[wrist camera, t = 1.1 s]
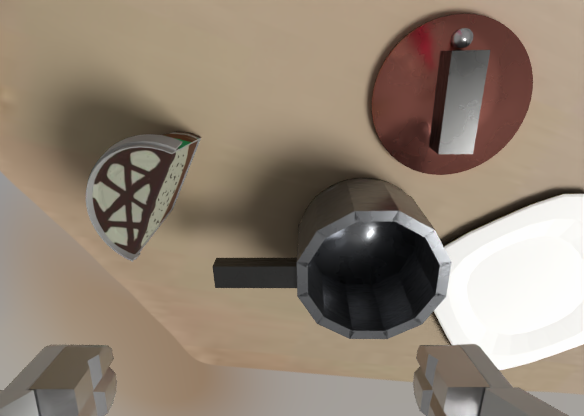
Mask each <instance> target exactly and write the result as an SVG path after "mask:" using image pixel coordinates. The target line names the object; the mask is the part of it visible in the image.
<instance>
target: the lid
mask: <svg viewBox="0 0 584 416" xmlns="http://www.w3.org/2000/svg"><path fill="white" fill-rule="evenodd" d="M532 89H533V75H532V67H531V63H530V60H529V56H528V54H527V52H526V50H525V47H524V46H523V44H522V43H521V41H520V40H519V38H518V37H517V36H516V35H515V34H514V33H513V32H512V31H511V30H510V29H509V28H507V27H506V26H505V25H503V24H502V23H500V22H498V21H496V20H494V19H491V18H489V17H486V16H481V15H476V14H455V15H449V16H445V17H441V18H437V19H434V20H432V21H429V22H427V23H425V24H423V25H421V26H419V27H418V28H416V29H415V30H413V31H412V32H410V33H409V34H407V35H406V36H405V37H404V38H403V39H402V40H401V41H400V42H399V43H398V44H397V45H396V46H395V47H394V48H393V50H392V51H391V52H390V53H389V55H388V56H387V58H386V59H385V61H384V63H383V65H382V66H381V68H380V70H379V73H378V75H377V78H376V81H375V85H374V89H373V95H372V117H373V122H374V126H375V129H376V132H377V134H378V136H379V139H380V140H381V142H382V144H383V145H384V147H385V148H386V149H387V150H388V151H389V153H390V154H391V155H392V156H393V157H394V158H395V159H396V160H398V161H399V162H400V163H402V164H403V165H405V166H407V167H409V168H411V169H413V170H416V171H419V172H422V173H427V174H436V175H444V174H453V173H459V172H462V171H466V170H469V169H471V168H474V167H476V166H478V165H480V164H482V163H484V162H485V161H487V160H489V159H490V158H491V157H493V156H494V155H496V154H497V153H498V152H499V151H500V150H501V149H502V148H504V147H505V146H506V144H507V143H508V142H509V141H510V140H511V139H512V138H513V136H514V135H515V133H516V132H517V131H518V129H519V127H520V125H521V124H522V122H523V120H524V118H525V115H526V113H527V111H528V108H529V104H530V101H531V95H532Z"/></svg>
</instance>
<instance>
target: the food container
mask: <svg viewBox="0 0 584 416" xmlns="http://www.w3.org/2000/svg"><path fill="white" fill-rule="evenodd" d="M200 139H201V137H200V136H197V135H194V134H192V133H184V132H173V133H168V134H164V135H154V134H145V135H136V136H132V137H129V138H126V139H124V140H121V141H119V142H117V143H116V144H114V145H113V146H112V147H110V148H109V149H108V150H107V151H106V152H105V153H104V154H103V155H102V157H101V158H100V159H99V160H98V161H97V163H96V164H95V166H94V168H93V169H92V171H91V174H90V176H89V179H88V184H87V189H86V205H87V211H88V214H89V217H90V220H91V222H92V224H93V226H94V228H95V230H96V231H97V233H98V234H99V236H100V237H101V238H102V239H103V241H104V242H105V243H106V244H107V245H108V246H109V247H110V248H112V249H113V250H114V251H115V252H117V253H118V254H120V255H121V256H123V257H124V258H126V259H128V260H130V261H133V260H135V259H136V258H137V257H138V256H139V255H140V251H141V250H142V249H143V247H144V246H145V245H146V244H147V242H148V241H149V240H150V238H151V237H152V236H153V234H154V233H155V232H156V231H157V229H158V228H159V227H160V225H161V224H162V223H163V222H164V220H165V219H166V218H167V216H168V215H169V214H170V212H171V211H172V210H173V208H174V205H175V203H176V200H177V198H178V195H179V192H180V190H181V187H182V185H183V182H184V180H185V177H186V175H187V172H188V170H189V167H190V165H191V162H192V160H193V157H194V155H195V152H196V150H197V147H198V144H199V142H200Z"/></svg>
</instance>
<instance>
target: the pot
mask: <svg viewBox="0 0 584 416" xmlns="http://www.w3.org/2000/svg"><path fill="white" fill-rule="evenodd" d="M451 263H452V262H451V260H450V258H449V256H448V254H447V252H446V251H445V249H444V247H443V245H442V243H441V241H440V239H439V237H438V235H437V233H436V231H435V229H434V228H433V226H432V225H431V224H430V222H429V221H428V219H427V218H426V217H425V215H424V214H423V212H422V211H421V210H420V208H419V207H418V205H417V204H416V202H415V201H414V200H413V198H412V197H411V196H409V195H407V194H406V193H404V192H403V191H402V190H401V189H399V188H398V187H396V186H394V185H392V184H390V183H388V182H385V181H382V180H378V179H372V178H355V179H349V180H345V181H342V182H339V183H336V184H334V185H332V186H330V187H329V188H327V189H325V190H324V191H322V192H321V193H320V194H319V195H318V196H317V197H316V198H315V199H314V200H313V201H312V202H311V203H310V205H309V206H308V208H307V209H306V211H305V213H304V215H303V218H302V221H301V222H300V224H299V228H298V247H297V258H216V260H215V262H214V265H213V273H214V281H215V288H297V296H298V298H299V299H300V300H301V302H302V303H303V305H304V306H305V307H306V309H307V310H308V312H309V313H310V314H311V316H312V317H313V319H314V320H315V321H316V323H317V324H319V325H321V326H323V327H326V328H328V329H330V330H332V331H334V332H336V333H338V334H341V335H343V336H345V337H347V338H349V339H388V338H391V337H393V336H395V335H398V334H400V333H402V332H405V331H407V330H410V329H412V328H414V327H417V326H419V325H421V324H423V323H424V321H425V320H426V319H427V318H428V317H429V316H430V315H431V313H432V312H433V311H434V310H435V309H436V308H437V307H438V305H439V304H440V303H441V302H442V301H443V300H444V299H445V297H446V294H447V288H448V282H449V276H450V270H451Z"/></svg>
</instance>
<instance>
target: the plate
mask: <svg viewBox="0 0 584 416" xmlns="http://www.w3.org/2000/svg"><path fill="white" fill-rule="evenodd" d="M443 247H444V249H445V251H446V252H447V254H448V256H449V258H450V260H451V262H452V263H451V270H450V276H449V282H448V288H447V294H446V297H445V299H444V300H443V301H442V302H441V303H440V304H439V305H438V307H437V308H436V309H435V310H434V313H435V315H436V317H437V319H438V321H439V323H440V325H441V327H442V329H443V330H444V332H445V334H446V336H447V338H448V339H449V341H450V343H451V345H457V344H476V345H478V346H480V347H481V349H482V350H483V351H484V352H485V354H486V355H487V356H488V357H489V359H490V360H491V361H492V362H493V364H494V365H495V366H496V367H497V368H498V370H504V369H508V368H512V367H516V366H520V365H524V364H528V363H531V362H534V361H537V360H540V359H543V358H546V357H549V356H552V355H555V354H558V353H560V352H563V351H566V350H569V349H571V348H574V347H577V346H580V345H582V344H584V193H577V194H560V195H557V196H554V197H551V198H548V199H545V200H542V201H539V202H535V203H532V204H530V205H527V206H525V207H523V208H520V209H518V210H516V211H513V212H511V213H509V214H507V215H504V216H502V217H500V218H497V219H495V220H493V221H491V222H489V223H487V224H484V225H482V226H480V227H478V228H476V229H473V230H471V231H469V232H467V233H466V234H464V235H462V236H460V237H459V238H457V239H455V240H453V241H452V242H450V243H448V244H447V245H445V246H443Z"/></svg>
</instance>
